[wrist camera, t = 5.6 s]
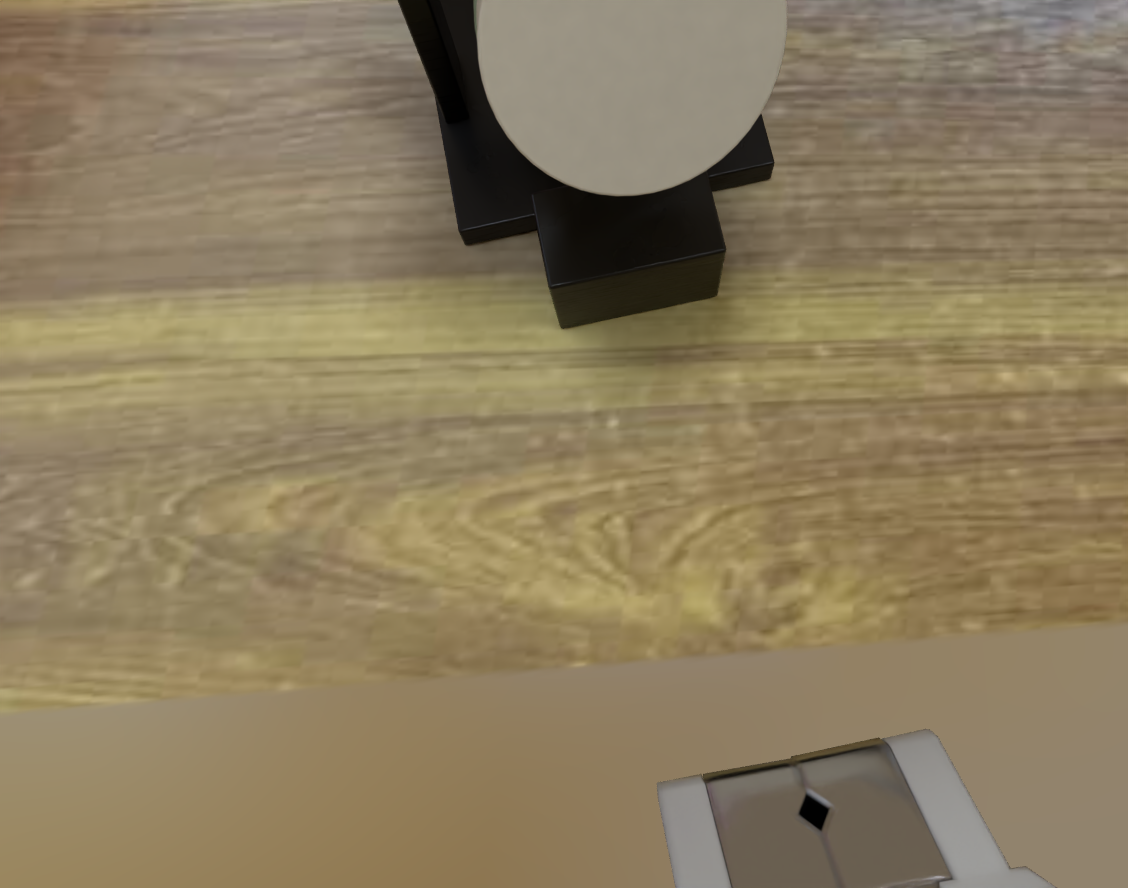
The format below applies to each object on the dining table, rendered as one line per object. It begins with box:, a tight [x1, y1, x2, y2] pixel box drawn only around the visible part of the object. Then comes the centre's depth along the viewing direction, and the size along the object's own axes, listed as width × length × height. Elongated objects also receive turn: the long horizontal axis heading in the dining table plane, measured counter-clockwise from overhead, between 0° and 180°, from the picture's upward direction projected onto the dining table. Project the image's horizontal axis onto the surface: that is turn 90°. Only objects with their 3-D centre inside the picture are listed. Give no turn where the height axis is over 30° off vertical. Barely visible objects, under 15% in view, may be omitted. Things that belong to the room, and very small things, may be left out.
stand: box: [398, 0, 774, 329], centre depth 26 cm, size 14×10×8 cm
